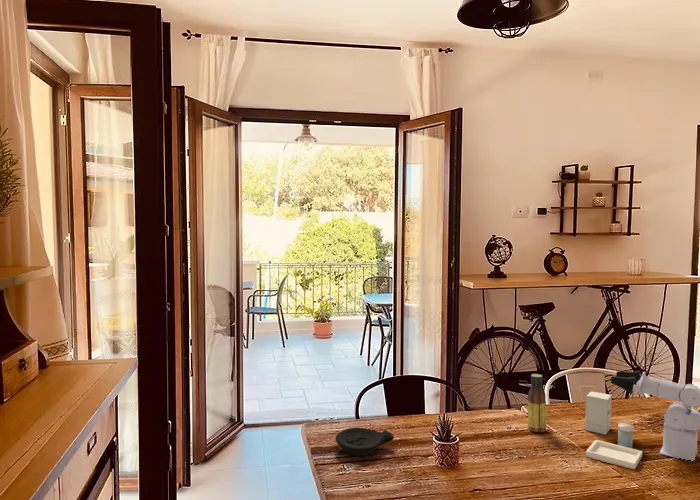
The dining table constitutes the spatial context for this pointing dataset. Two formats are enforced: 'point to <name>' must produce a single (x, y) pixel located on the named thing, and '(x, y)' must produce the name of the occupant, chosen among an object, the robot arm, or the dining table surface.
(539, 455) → the dining table surface
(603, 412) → the supplement box
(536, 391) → the sauce bottle
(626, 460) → the tray
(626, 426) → the cylinder
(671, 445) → the robot arm
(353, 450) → the oil lamp
